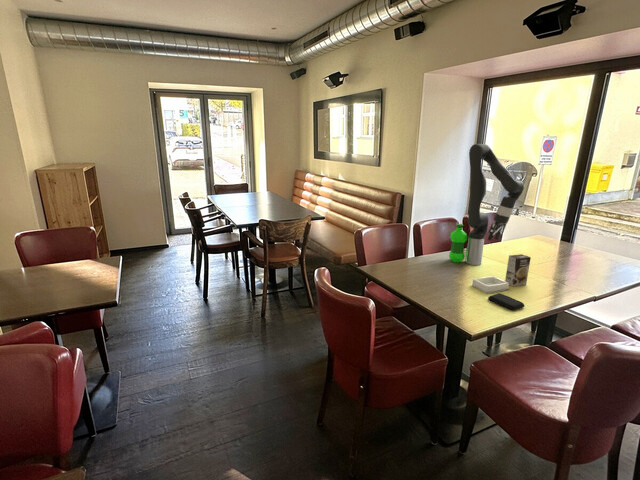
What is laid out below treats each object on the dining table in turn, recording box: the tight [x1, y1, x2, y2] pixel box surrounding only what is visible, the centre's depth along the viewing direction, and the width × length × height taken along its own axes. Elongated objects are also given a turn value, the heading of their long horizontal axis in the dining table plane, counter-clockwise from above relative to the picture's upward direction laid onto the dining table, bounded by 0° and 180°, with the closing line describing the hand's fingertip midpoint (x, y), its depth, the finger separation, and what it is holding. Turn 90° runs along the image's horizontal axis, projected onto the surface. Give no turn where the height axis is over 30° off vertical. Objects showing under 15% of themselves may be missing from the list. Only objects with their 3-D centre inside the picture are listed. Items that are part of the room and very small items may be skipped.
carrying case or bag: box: [487, 292, 525, 312], centre depth 171 cm, size 11×3×15 cm
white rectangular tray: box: [471, 275, 510, 294], centre depth 189 cm, size 11×14×4 cm
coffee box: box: [504, 253, 531, 287], centre depth 193 cm, size 9×6×16 cm
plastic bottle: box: [448, 223, 468, 263], centre depth 230 cm, size 10×10×25 cm
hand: (492, 239), depth 208 cm, fingers open, 8 cm apart
